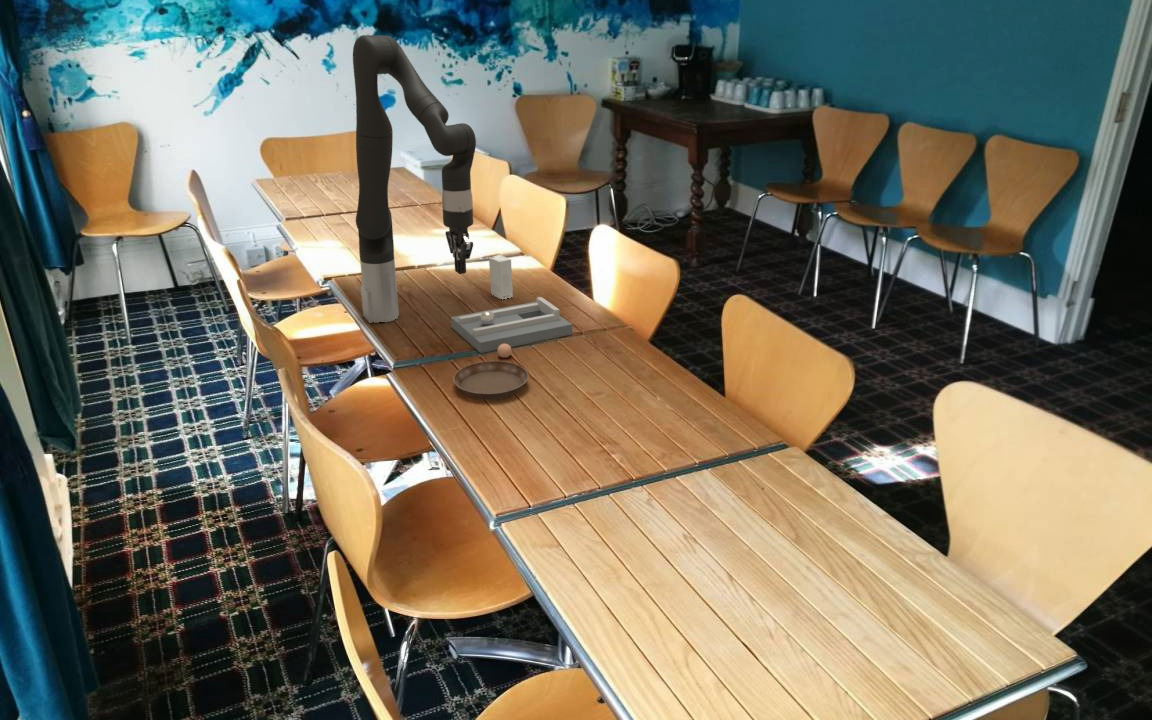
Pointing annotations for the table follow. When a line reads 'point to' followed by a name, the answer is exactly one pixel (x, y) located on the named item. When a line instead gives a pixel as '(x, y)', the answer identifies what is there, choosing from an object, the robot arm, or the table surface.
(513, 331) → the slate board
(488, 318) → the steel ball
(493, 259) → the skincare box
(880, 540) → the table surface
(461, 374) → the plant saucer
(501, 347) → the terracotta ball
